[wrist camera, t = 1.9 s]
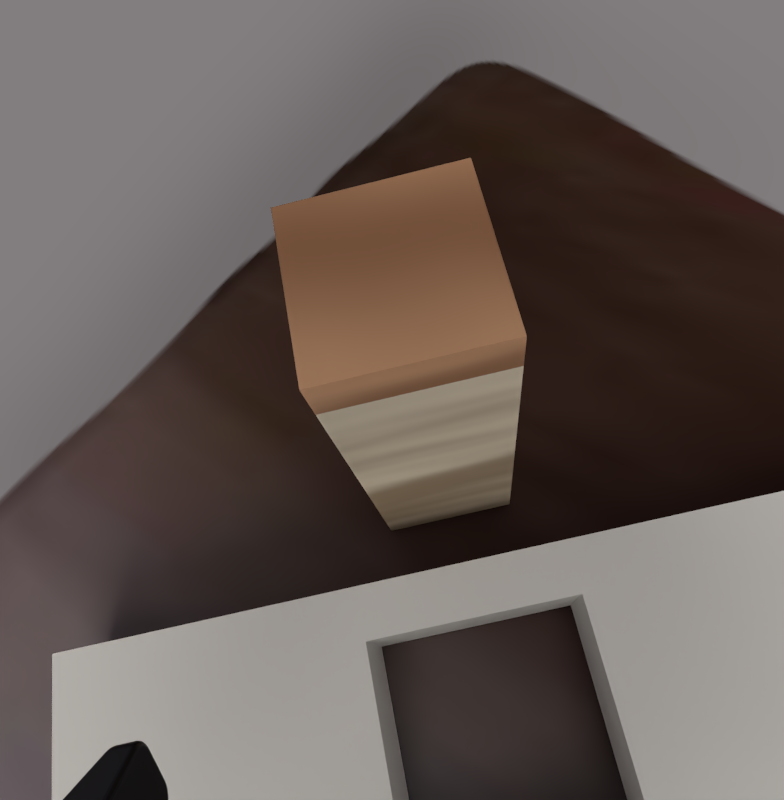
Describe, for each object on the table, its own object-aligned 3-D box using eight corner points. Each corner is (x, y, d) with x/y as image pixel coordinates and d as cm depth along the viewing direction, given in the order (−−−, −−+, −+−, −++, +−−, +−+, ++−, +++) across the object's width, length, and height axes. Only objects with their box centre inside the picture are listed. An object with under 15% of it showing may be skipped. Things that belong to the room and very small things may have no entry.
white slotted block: (998, 824, 18) (1090, 850, 15) (115, 998, 19) (51, 1052, 16) (841, 494, 21) (892, 466, 19) (106, 657, 23) (52, 654, 20)
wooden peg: (509, 504, 23) (526, 336, 12) (391, 530, 23) (299, 390, 12) (479, 395, 24) (470, 157, 13) (369, 421, 24) (270, 207, 13)
